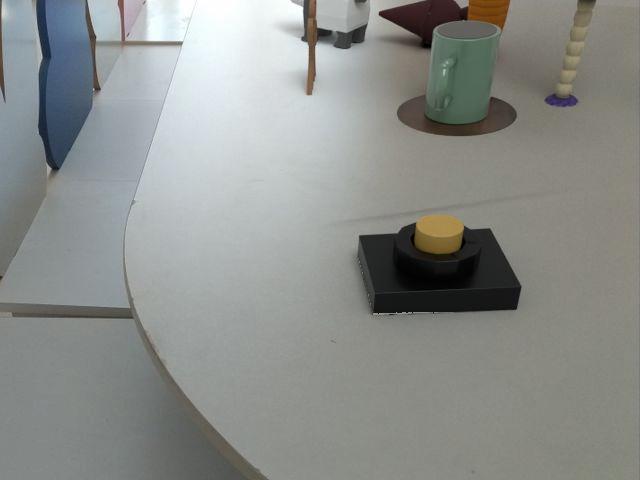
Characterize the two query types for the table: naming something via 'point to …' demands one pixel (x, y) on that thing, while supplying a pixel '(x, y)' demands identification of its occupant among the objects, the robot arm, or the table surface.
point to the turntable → (454, 124)
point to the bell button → (438, 234)
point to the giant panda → (338, 19)
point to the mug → (461, 71)
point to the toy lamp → (572, 56)
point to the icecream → (425, 16)
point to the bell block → (437, 274)
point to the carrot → (489, 11)
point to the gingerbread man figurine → (311, 45)
